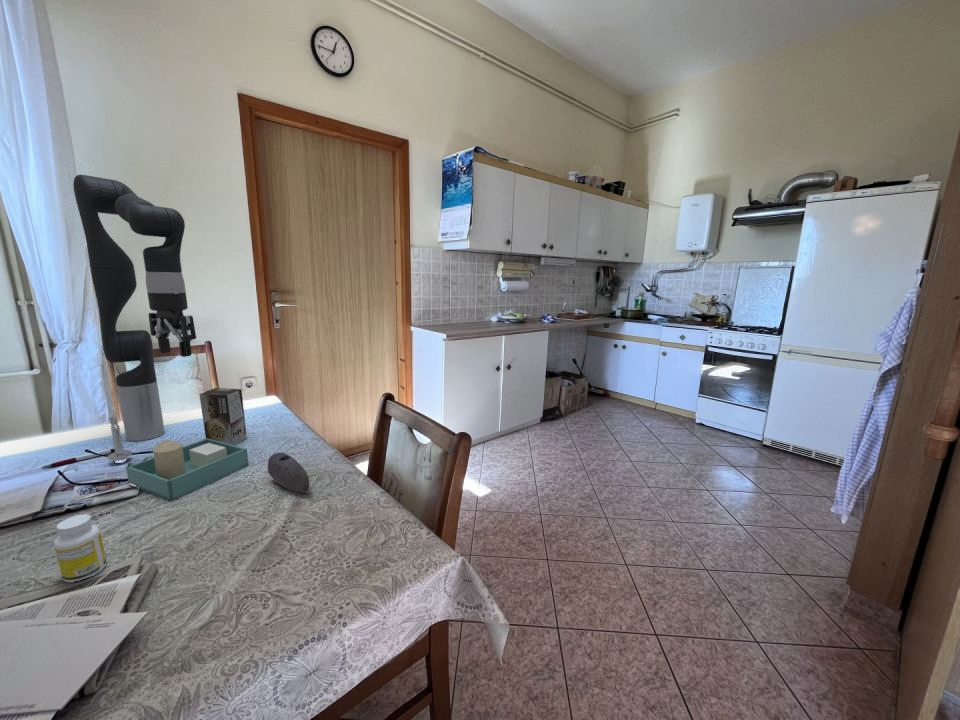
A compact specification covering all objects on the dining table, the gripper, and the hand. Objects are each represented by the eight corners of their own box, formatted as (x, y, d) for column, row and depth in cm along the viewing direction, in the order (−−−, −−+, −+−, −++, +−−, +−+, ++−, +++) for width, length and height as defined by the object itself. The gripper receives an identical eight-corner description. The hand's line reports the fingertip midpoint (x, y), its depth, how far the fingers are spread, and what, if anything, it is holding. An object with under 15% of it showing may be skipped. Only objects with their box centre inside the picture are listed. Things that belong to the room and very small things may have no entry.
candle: (191, 476, 96) (186, 439, 94) (168, 487, 91) (162, 448, 89) (176, 472, 98) (171, 435, 96) (152, 483, 93) (146, 444, 91)
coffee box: (248, 437, 122) (242, 388, 118) (233, 446, 116) (227, 394, 112) (221, 436, 123) (215, 387, 119) (205, 444, 116) (198, 393, 113)
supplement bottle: (82, 561, 69) (72, 511, 67) (115, 560, 69) (106, 511, 67) (52, 584, 63) (40, 531, 61) (88, 583, 64) (76, 531, 62)
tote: (129, 485, 93) (126, 467, 92) (209, 453, 110) (207, 438, 109) (170, 501, 87) (167, 481, 86) (248, 465, 104) (246, 448, 103)
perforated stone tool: (317, 493, 92) (316, 466, 91) (296, 502, 88) (293, 474, 87) (287, 472, 101) (285, 448, 100) (266, 480, 97) (264, 455, 96)
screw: (105, 463, 103) (127, 456, 108) (114, 467, 101) (136, 460, 106) (96, 417, 101) (119, 412, 105) (105, 421, 99) (129, 415, 103)
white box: (191, 465, 102) (189, 449, 101) (210, 457, 106) (208, 442, 105) (209, 471, 99) (206, 455, 98) (227, 463, 104) (226, 447, 103)
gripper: (131, 290, 95) (142, 354, 99) (167, 292, 90) (177, 360, 94) (165, 289, 102) (174, 349, 106) (201, 291, 97) (208, 354, 100)
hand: (175, 354), depth 100 cm, fingers open, 8 cm apart
